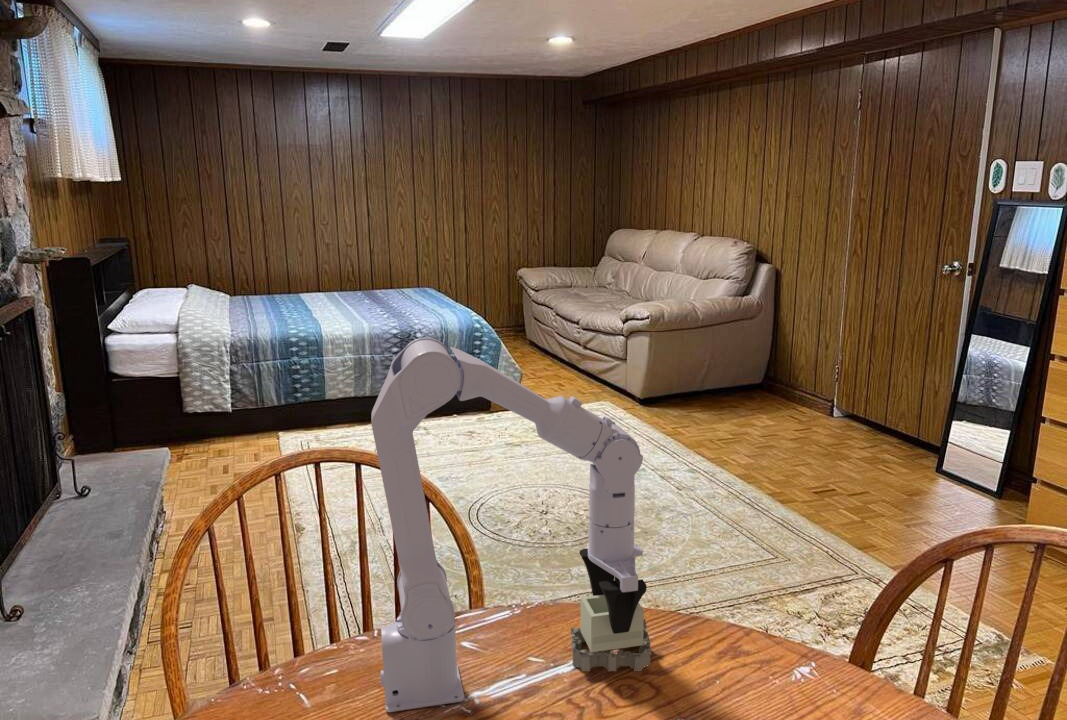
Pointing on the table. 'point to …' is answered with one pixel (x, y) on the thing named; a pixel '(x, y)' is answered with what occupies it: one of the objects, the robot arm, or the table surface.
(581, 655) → the egg carton
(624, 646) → the box
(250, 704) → the table surface
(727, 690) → the table surface
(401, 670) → the robot arm
